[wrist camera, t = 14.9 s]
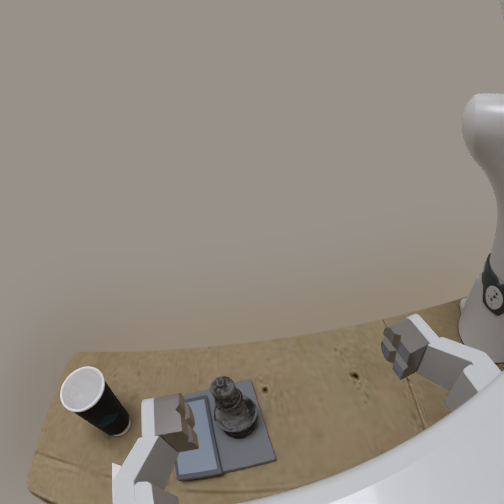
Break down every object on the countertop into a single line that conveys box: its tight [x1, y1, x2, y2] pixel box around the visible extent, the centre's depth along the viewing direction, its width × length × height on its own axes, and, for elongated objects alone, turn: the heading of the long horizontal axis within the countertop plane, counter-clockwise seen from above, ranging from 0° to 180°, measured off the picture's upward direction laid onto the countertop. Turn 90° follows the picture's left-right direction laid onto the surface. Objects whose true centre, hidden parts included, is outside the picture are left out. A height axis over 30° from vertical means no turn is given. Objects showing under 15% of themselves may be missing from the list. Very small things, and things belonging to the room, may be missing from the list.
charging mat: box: [182, 379, 276, 473], centre depth 36 cm, size 13×14×1 cm
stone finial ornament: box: [210, 376, 259, 439], centre depth 33 cm, size 6×6×12 cm
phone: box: [175, 395, 223, 481], centre depth 34 cm, size 6×13×1 cm, turn 14°
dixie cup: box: [60, 367, 131, 436], centre depth 35 cm, size 8×8×11 cm
